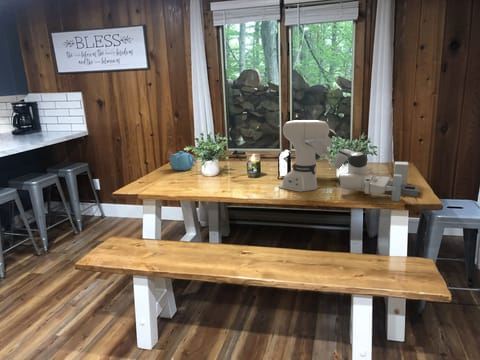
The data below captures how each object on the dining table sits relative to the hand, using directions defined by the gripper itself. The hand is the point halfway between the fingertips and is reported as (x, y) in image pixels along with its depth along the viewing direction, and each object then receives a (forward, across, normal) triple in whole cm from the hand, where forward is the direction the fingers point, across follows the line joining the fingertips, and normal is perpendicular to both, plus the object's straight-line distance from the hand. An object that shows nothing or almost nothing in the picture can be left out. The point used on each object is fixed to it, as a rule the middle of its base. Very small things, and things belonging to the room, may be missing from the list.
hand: (397, 186), depth 196 cm
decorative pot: (-148, -15, -8) cm, 149 cm away
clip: (0, +1, -7) cm, 7 cm away
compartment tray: (-2, -13, -7) cm, 15 cm away
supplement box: (-2, -29, -8) cm, 30 cm away
